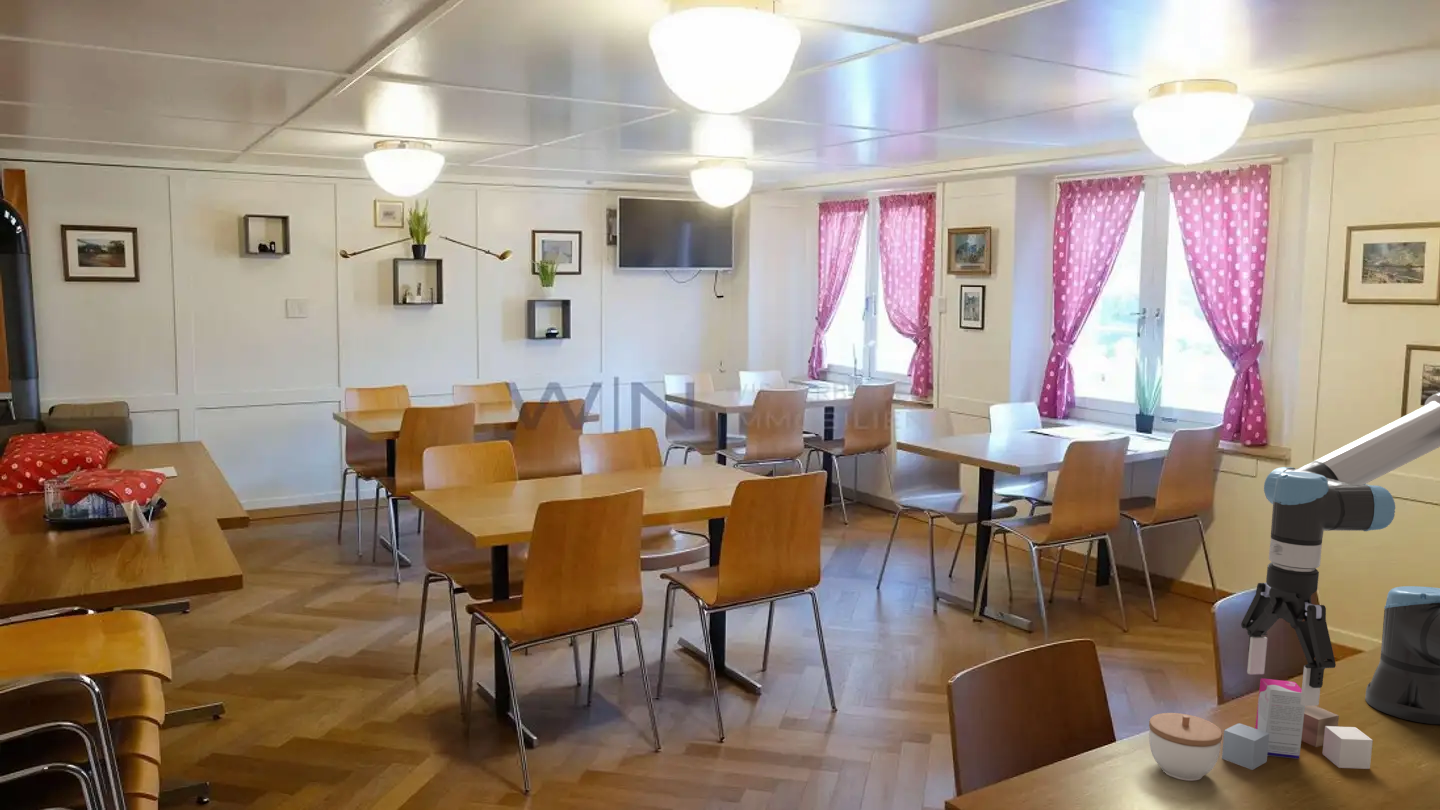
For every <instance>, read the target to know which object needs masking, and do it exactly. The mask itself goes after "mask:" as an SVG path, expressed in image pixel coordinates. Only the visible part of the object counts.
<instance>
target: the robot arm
mask: <svg viewBox="0 0 1440 810" xmlns="http://www.w3.org/2000/svg"><path fill="white" fill-rule="evenodd" d="M1439 448H1440V391H1438V392H1436V393H1434V394H1432V395H1430V396H1429V397H1427V398H1426V400H1425V402H1424V405H1423V406H1422V407H1420V408H1417V409H1415V410H1413V411H1412V412H1409V413H1408V414H1405V415H1402V417H1399V418H1397V419H1396V420H1393V421H1392V422H1390V423H1387V424H1386V425H1383V426H1381V427H1379V428H1377V429H1376V430H1373V431H1371V432H1370V433H1367V434H1365V435H1363V436H1361V437H1360V438H1359V437H1358V439H1355V440H1354V441H1351V442H1349V443H1347V444H1345V445H1343V446H1341V447H1340V448H1337V449H1335V450H1332V452H1329V453H1327V454H1325V455H1323V456H1321V457H1319V458H1316V459H1315V460H1313V461H1311V462H1309V463H1307V464H1305V465H1303V466H1301V467H1298V468H1295V467H1292V466H1281V467H1277V468H1274V469H1273V470H1272V471H1271V472H1270V473H1268V475H1267V476H1266V478H1265V480H1264V484H1263V491H1264V496H1265V497H1266V500H1267V501H1268V502H1269V503H1270V504H1271V505H1272V516H1271V526H1270V527H1271V528H1270V529H1271V530H1270V541H1269V542H1270V543H1269V550H1268V551H1269V552H1268V561H1270V563H1268V565H1267V569H1266V570H1267V571H1266V580H1265V582H1257V585H1256V590H1255V595H1254V596H1253V599H1252V600H1251V603H1250V605H1249V606H1248V609H1247V611H1246V613H1245V615H1244V617H1243V618H1242V621H1241V622H1240V625H1241V628H1242V629H1245V630H1246V632H1247V635H1248V646H1247V648H1248V659H1247V670H1246V673H1247V674H1248V675H1264V674H1265V668H1266V658H1267V657H1266V656H1267V649H1268V647H1267V646H1268V637H1266V636H1268V631H1269V630H1270V629H1271V628H1272V627H1273V625H1274V624H1275V623H1276V622H1278V620H1280V619H1283V621H1285V622H1286V623H1289V625H1290V627H1291V629H1294V631H1295V634H1296V636H1297V639H1298V641H1299V644H1300V647H1301V648H1302V651H1303V653H1304V658H1305V660H1306V663H1307V664H1305V665H1303V671H1302V672H1303V673H1302V682H1301V683H1302V684H1301V689H1302V692H1301V702H1300V704H1301V705H1303V706H1319V705H1320V695H1321V688H1322V687H1323V684H1324V673H1325V669H1334V668H1335V667H1337V666H1336V665H1337V664H1336V659H1335V655H1334V651H1333V645H1332V641H1331V638H1330V632H1329V629H1328V624H1327V619H1326V617H1327V611H1326V610H1327V608H1326V606H1325V605H1324V604H1312V595H1313V594H1314V593H1316V592H1317V590H1318V588H1319V587H1318V586H1319V585H1318V584H1319V575H1320V571H1319V570H1318V568H1320V566H1321V559H1322V558H1321V557H1322V545H1323V536H1324V532H1325V531H1327V532H1328V531H1341V532H1342V531H1343V532H1346V531H1347V532H1348V531H1349V532H1350V531H1355V532H1356V531H1359V532H1360V531H1361V532H1362V531H1363V532H1369V531H1376V530H1377V531H1378V530H1379V531H1380V530H1384V529H1386V528H1387V527H1389V525H1391V524H1392V523H1393V520H1394V519H1395V513H1396V503H1395V500H1394V497H1393V495H1392V493H1391V492H1390V491H1389V490H1388V489H1386V488H1385V487H1383V486H1380V485H1370V484H1368V483H1370V482H1373V481H1375V480H1376V479H1378V478H1380V477H1382V476H1384V475H1386V474H1388V473H1391V472H1392V471H1394V470H1397V469H1398V468H1399V469H1400V467H1402V466H1404V465H1407V464H1408V463H1410V462H1412V461H1413V462H1414V460H1417V459H1419V458H1420V457H1422V456H1425V455H1427V454H1429V453H1431V452H1433V451H1434V450H1436V449H1439ZM1383 611H1384V612H1383V623H1382V634H1381V635H1382V636H1381V647H1380V648H1381V649H1380V657H1379V663H1378V665H1377V667H1376V669H1375V671H1374V673H1373V676H1372V679H1371V680H1370V682H1368V684H1367V686H1366V689H1365V701H1366V703H1367V704H1368V705H1369V706H1370V707H1372V708H1374V709H1375V710H1377V711H1379V712H1382V713H1384V714H1387V715H1390V716H1392V717H1395V718H1399V719H1401V720H1402V719H1403V720H1406V721H1411V722H1415V723H1422V724H1428V725H1440V588H1439V587H1432V586H1431V587H1430V586H1417V585H1412V586H1411V585H1405V586H1403V585H1402V586H1396V587H1393V588H1391V589H1389V591H1388V592H1387V596H1386V602H1385V605H1384V609H1383ZM1303 620H1304V621H1303Z"/></svg>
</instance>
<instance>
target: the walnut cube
mask: <svg viewBox="0 0 1440 810" xmlns="http://www.w3.org/2000/svg"><path fill="white" fill-rule="evenodd" d="M1339 717H1340V715H1339V714H1337V713H1334V712H1331V711H1330V710H1327V709H1325V708H1322V707H1319V706H1318V705H1315V706H1305V711H1304V720H1303V729H1302V739H1301V742H1304V743H1306V744H1308V745H1310V746H1312V747H1315V748H1319V747H1323V743H1324V733H1325V726H1337V727H1339V719H1340V718H1339Z"/></svg>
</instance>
